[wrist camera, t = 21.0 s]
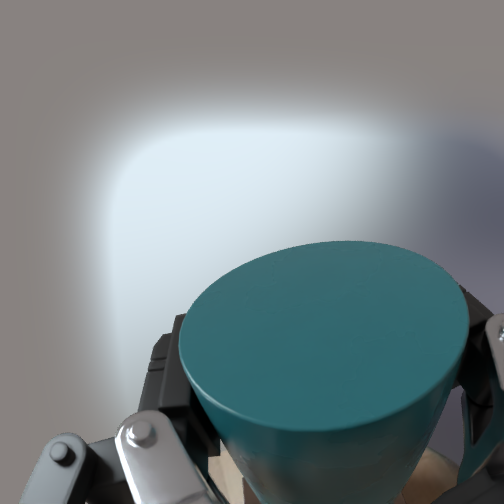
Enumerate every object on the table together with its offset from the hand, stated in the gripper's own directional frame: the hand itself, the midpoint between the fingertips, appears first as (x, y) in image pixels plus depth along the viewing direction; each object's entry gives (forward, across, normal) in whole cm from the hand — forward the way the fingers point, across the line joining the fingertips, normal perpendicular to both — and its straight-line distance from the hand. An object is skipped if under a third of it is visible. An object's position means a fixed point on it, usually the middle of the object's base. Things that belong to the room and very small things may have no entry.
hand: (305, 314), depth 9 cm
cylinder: (-2, 0, +10) cm, 10 cm away
